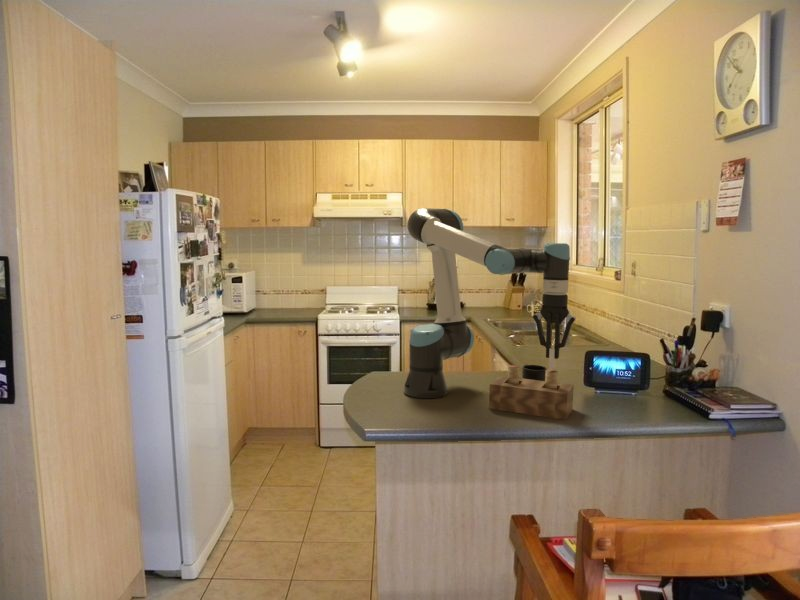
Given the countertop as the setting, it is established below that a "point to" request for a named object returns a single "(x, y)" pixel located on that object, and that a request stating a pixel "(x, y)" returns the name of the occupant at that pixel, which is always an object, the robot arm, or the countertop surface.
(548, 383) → the peg
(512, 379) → the peg
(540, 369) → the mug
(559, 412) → the socket block
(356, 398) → the countertop surface
